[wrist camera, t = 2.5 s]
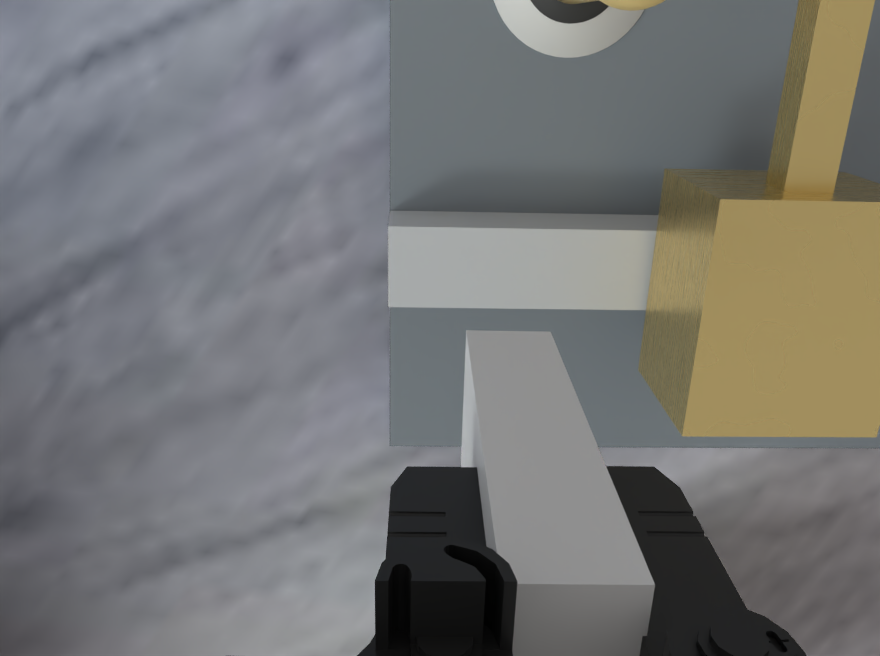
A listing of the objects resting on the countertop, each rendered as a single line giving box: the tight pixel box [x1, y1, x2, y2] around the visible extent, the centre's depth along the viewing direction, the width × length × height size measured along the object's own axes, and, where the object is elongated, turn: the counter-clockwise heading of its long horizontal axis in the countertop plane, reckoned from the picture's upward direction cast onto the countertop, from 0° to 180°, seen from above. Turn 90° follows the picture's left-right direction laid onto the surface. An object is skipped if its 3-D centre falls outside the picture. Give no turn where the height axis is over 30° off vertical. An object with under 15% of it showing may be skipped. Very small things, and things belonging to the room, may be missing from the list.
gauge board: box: [388, 0, 880, 448], centre depth 20 cm, size 26×18×9 cm
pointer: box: [638, 0, 880, 437], centre depth 19 cm, size 5×12×6 cm, turn 179°
